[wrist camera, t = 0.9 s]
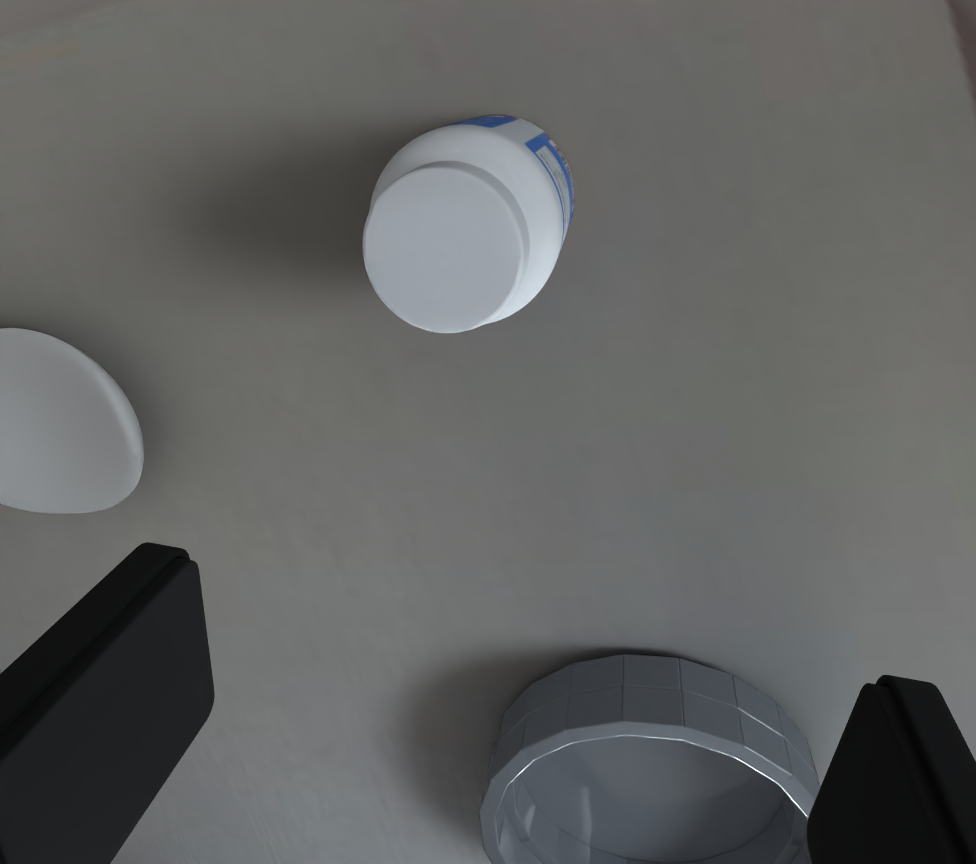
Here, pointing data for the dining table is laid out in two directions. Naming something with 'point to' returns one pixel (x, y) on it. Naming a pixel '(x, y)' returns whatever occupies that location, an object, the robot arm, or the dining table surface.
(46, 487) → the spoon
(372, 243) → the pill bottle
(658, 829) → the pan
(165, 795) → the dining table surface
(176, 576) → the robot arm
